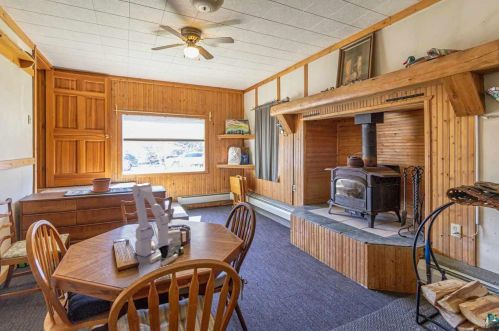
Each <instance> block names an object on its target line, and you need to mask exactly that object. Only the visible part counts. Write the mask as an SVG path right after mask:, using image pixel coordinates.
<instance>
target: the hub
mask: <svg viewBox="0 0 499 331" xmlns="http://www.w3.org/2000/svg"><path fill="white" fill-rule="evenodd" d="M173 251H174V248H168V250H167V252H166V258H162V257H161V258H160V260H162V261H164V260H166V259H167V258H169V257H171V256H173Z"/></svg>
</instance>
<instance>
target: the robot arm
mask: <svg viewBox="0 0 499 331" xmlns="http://www.w3.org/2000/svg"><path fill="white" fill-rule="evenodd" d="M131 191H132V196H133V199H134V201H135V207H136V209H135V210H136V214H137V219H138V220H137V221H138V224H139V225H138V226H136V228H135V239H136V240H135V243H134V246H135V247H134V250H135V251H134V253H136V254H137V256H140V257H141V256H142V257H147V256H150V255H151V254H153V253H156V251H158V250H159V252H160V254H161V257H162V258H166V252H167V250H168V248H169V244H170V243H171V242H173V239H171V238H170V239H168V231H169V223H170V221H171V218H170V215H169V214H168V213H166V212H165V211H164V209H163V208H162V206H161V204H160V203H157V201H156V199H155V196H154V194H153V187H152V184H151V183H150V182H146V183H141V184H134V185H133V187H132V188H131ZM145 200H147V202H148V204H149V205H150V207H151V208H150V211H151V213H152V214H153V216H154V217H155V220H154V222H155V224H156V229H157V243H156V244H155V245H153V246H152V240H153V237H154V235H155V230H154V228H153V225H152V224H150V223H149V220H148V215H147V209H146V204H145ZM136 254H135V255H136Z"/></svg>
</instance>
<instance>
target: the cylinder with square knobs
mask: <svg viewBox="0 0 499 331" xmlns="http://www.w3.org/2000/svg"><path fill="white" fill-rule="evenodd" d="M173 248H174V251H173V255H175V254H178V256H179V255H180V254H182V253H184V252H185V250H184V247H183V246H182V245H181V246H180V245H178V246H175V247H173Z"/></svg>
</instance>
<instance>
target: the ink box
mask: <svg viewBox="0 0 499 331" xmlns="http://www.w3.org/2000/svg"><path fill="white" fill-rule="evenodd" d="M170 238H171V239H173V242H171V243H170V244H169V248H173V247H175V246H178V245H180V246H181V247H182V243H181V242H182V241H181V240H182V237H181V230H180V229H173V230H168V239H170Z"/></svg>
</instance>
